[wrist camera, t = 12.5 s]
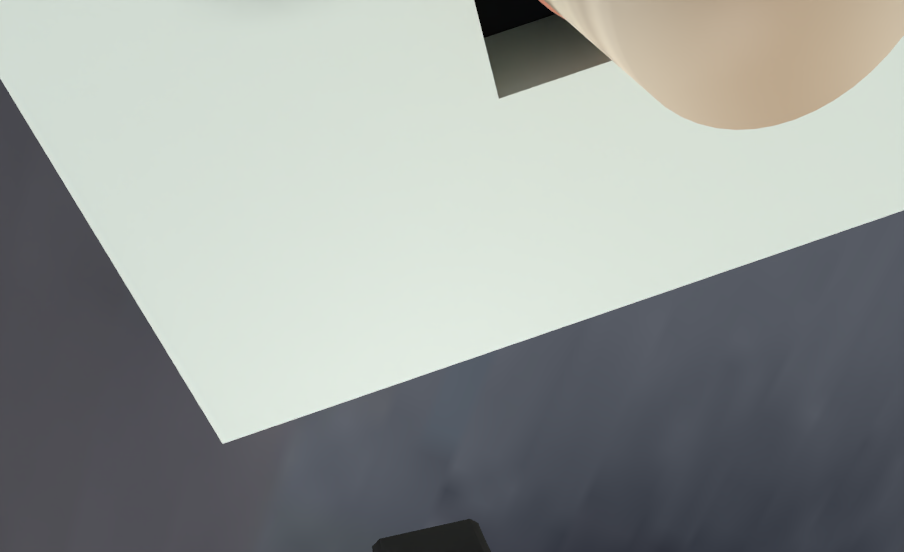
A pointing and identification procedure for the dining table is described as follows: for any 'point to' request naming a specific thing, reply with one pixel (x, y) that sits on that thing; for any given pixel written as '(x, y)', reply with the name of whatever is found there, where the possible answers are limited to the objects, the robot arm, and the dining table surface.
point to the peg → (740, 52)
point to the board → (403, 182)
